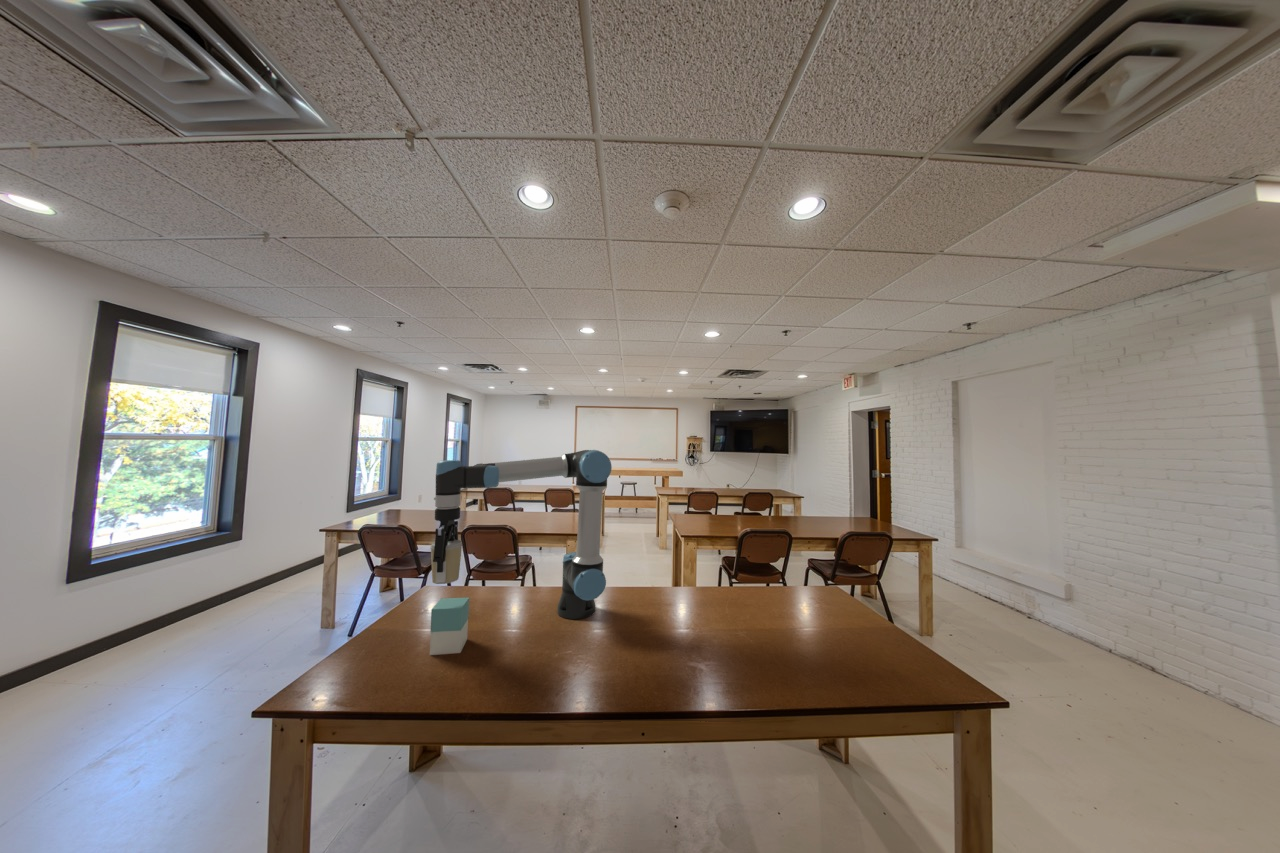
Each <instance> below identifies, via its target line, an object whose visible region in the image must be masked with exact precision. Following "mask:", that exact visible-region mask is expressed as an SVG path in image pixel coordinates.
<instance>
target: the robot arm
mask: <svg viewBox="0 0 1280 853" xmlns="http://www.w3.org/2000/svg"><path fill="white" fill-rule="evenodd" d="M435 467H436V469H435V470H436V471H435V497H433V500H434V501H435V504H434V505H435V509H434V520H435V521H438V522H439V527H438V528H435V538H434V539H435V540H434V542H435V547H434V557H433V562H436V583H439V582H446V561H445V556H446V546H447V545H448V541H454V540H459V530H458V529H459V528H458V527H459V521H458V520H459V519H460V518H461V507H460V506H461V503H462V502H461V501H462V500H461V497H462V496H461V492H462V491H461V490H462V489H464V490H465V489H491V488H497V487H499V484H500V483H506V482H514V481H524V480H533V479H543V478H553V477H554V478H555V477H563V478H565V479H566V478H576V479H575V486H576V487H577V488H578V490H579V499H578V501H579V502H578V515H577V516H578V517H577V518H578V519H577V533H576V534H577V536H576V537H577V538H576V551H575V552H569V553H566V554H564V555H563V560H562V585H561V586H562V591H561V595H560V597H559V599H558V600H559V601H558V604H557V607H556V611H557V612H556V614H557V615H558V616H559V617H561V618H564V619H569V620H579V619H585V618H588V616H589V617H590V615H591V616H592V614H593V613H594V612H596V602H595V599H598V598H599V597H600V596H601V594H603V592H604V591H605V589H606V585H607V580H606V575H605V573H604V572H603V571H604V558H603V557H602V556H601V554H600V552H601V551H600V550H601V549H600V548H601V532H602V529H601V528H602V527H601V526H602V514H603V513H602V511H603V508H602V507H603V494H604V493H603V492H604V490H605V489H606V488H607V486H608V479H609V477H610V475H611V473H612V467H613V466H612V462H611V460H610V458H609V456H608V455H607V454H606V453H604V452H602V451H600V450H598V449H584V450H579V451H574V452H569V453H563V454H561V456H555V457H546V458H545V457H543V458H532V459H523V460H522V459H521V460H511V461H500V462H490V463H476V464H474V465H468V466H467V465H463V464H462V461H461V460H460V459H459V460H458V459H457V460H456V459H455V460H454V459H453V460H450V459H449V460H448V459H447V460H446V459H445V460H439V461H437V462H436V466H435ZM594 614H595V613H594ZM594 614H593V615H594Z"/></svg>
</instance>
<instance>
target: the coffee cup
mask: <svg viewBox="0 0 1280 853" xmlns="http://www.w3.org/2000/svg"><path fill="white" fill-rule="evenodd" d="M434 547H435V541H434V542H433V543H431V545H430V557H431V558H430V559H431V560H430V561H431V562H430V563H431V578H432V583H433V584H436V585H445V584H451V583H454V582H457V581H458V580H459V578H460V570H461V568H460V567H461V559H462V558H461V557H462V547H463V542H462V541H461V540H459V539H458V540H454V541H448V545H447V546H446V556H445V561H446V582H439V583H436V562H433V557H434Z"/></svg>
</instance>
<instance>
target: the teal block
mask: <svg viewBox="0 0 1280 853" xmlns="http://www.w3.org/2000/svg"><path fill="white" fill-rule="evenodd" d="M430 611H431V612H430V614H431V615H430V633H431V632H442V631H461V629H462V628H463V626H464V625H465V623H466V622H467V620H468V621H469V614H470V597H448V598H447V597H446V598H445V597H444V598H440V599H439V600H438V601H437V603H436V604H435V605H434V606H433V607H432V608H431V610H430Z"/></svg>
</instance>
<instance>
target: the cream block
mask: <svg viewBox="0 0 1280 853" xmlns="http://www.w3.org/2000/svg"><path fill="white" fill-rule="evenodd" d="M468 622H469V619H468V620H467V622H466V623H465V625H464V626H463V628H462V629H461V631H442V632H431V631H430V638H429V639H430V641H429V642H430V643H429V656H437V655H449V654H460V653H461V652H462V651H463V649H464V646H465V644H466V642H467V640H468V630H469V629H468V624H469V623H468Z"/></svg>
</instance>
